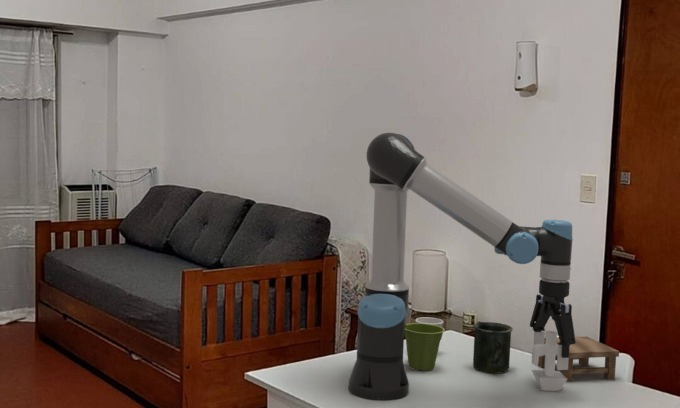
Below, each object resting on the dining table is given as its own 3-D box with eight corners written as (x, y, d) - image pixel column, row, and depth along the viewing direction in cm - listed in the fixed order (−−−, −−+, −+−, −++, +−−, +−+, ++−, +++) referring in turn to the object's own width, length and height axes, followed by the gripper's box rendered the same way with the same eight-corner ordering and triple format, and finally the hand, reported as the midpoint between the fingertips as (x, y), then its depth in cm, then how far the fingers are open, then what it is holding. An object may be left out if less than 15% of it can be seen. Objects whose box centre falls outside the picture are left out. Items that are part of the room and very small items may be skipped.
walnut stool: (564, 382, 203) (566, 353, 203) (535, 365, 219) (537, 337, 218) (617, 380, 207) (619, 351, 206) (585, 363, 223) (586, 336, 222)
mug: (505, 363, 220) (507, 322, 219) (517, 378, 205) (519, 335, 204) (468, 362, 220) (470, 321, 219) (477, 377, 205) (479, 333, 204)
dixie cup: (446, 352, 229) (447, 319, 229) (435, 358, 222) (436, 324, 221) (421, 347, 234) (422, 315, 233) (409, 353, 226) (410, 320, 226)
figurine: (526, 383, 201) (529, 327, 200) (561, 384, 202) (565, 328, 200) (534, 392, 194) (537, 334, 193) (571, 393, 194) (574, 335, 193)
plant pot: (433, 376, 205) (435, 335, 204) (393, 368, 210) (395, 328, 210) (449, 366, 215) (451, 327, 214) (411, 359, 221) (412, 320, 220)
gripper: (593, 288, 185) (588, 375, 186) (544, 272, 208) (540, 349, 210) (565, 288, 183) (560, 376, 185) (519, 272, 206) (515, 350, 208)
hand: (549, 362), depth 197 cm, fingers open, 12 cm apart
